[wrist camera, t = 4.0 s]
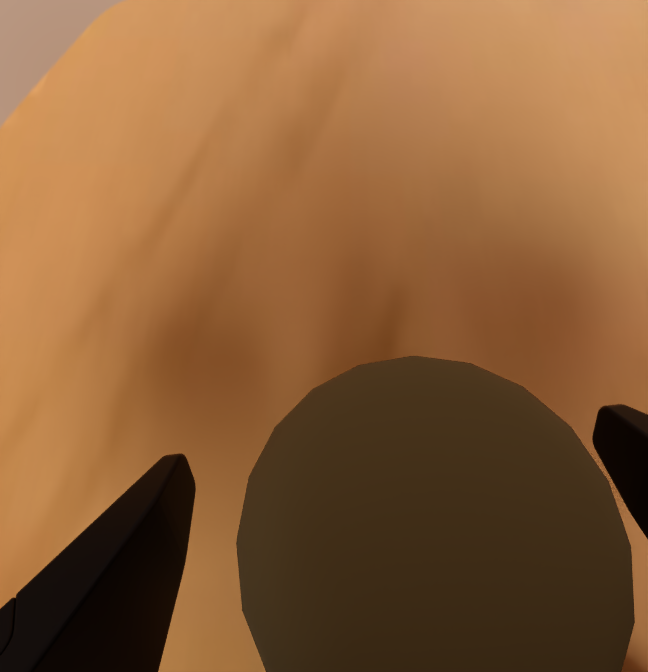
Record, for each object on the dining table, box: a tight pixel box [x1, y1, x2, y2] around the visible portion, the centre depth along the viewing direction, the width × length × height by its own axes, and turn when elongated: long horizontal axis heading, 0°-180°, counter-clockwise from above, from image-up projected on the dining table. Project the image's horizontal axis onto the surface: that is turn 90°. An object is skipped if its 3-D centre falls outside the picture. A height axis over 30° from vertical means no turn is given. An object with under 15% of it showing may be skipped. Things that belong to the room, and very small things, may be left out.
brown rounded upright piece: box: [236, 356, 635, 672], centre depth 10 cm, size 6×6×11 cm
